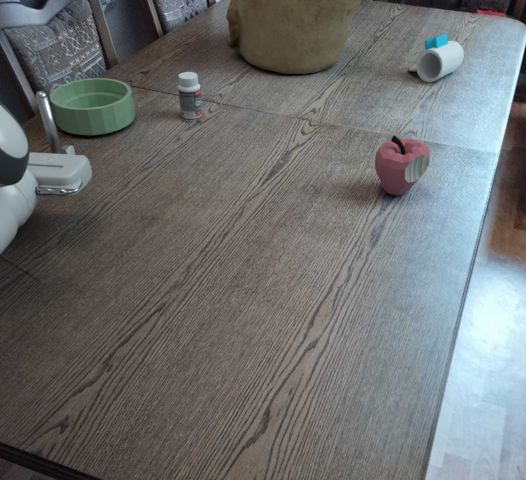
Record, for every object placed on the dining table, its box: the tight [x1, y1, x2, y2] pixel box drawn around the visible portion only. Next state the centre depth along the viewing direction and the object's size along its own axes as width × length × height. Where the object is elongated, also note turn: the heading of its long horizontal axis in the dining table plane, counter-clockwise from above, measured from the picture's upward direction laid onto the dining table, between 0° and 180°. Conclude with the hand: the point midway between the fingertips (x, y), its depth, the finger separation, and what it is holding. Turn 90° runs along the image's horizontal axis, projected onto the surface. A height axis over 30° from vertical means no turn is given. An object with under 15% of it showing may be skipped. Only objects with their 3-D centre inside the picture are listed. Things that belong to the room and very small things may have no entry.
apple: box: [374, 135, 431, 197], centre depth 96 cm, size 10×9×10 cm
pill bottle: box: [177, 71, 203, 120], centre depth 118 cm, size 5×5×8 cm
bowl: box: [49, 77, 136, 136], centre depth 117 cm, size 17×17×6 cm
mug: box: [408, 33, 465, 83], centre depth 137 cm, size 12×9×12 cm
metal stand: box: [35, 90, 62, 154], centre depth 95 cm, size 6×6×16 cm
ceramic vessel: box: [225, 0, 363, 75], centre depth 139 cm, size 29×42×25 cm
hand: (42, 148), depth 91 cm, fingers open, 8 cm apart
